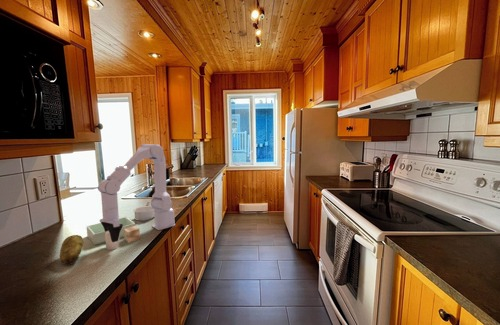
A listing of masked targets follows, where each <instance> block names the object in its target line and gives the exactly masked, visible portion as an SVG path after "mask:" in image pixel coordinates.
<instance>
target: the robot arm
mask: <svg viewBox="0 0 500 325" xmlns="http://www.w3.org/2000/svg"><path fill="white" fill-rule="evenodd" d="M147 159H149V160H151V161H152V162H153V165H154V166H153V168H154V172H153V173H154V193H153V194H152V196H151V202H150V206H152V207H153V208H154V214H155V216H154V224H152V225H151V227H152V228H154V229H156V230H157V231H161V230H164V229H168V228H171V227H175V226H176V223H175V222H176V220H175V217H176V216H175V211H174V209H173V208H172V205H173V201H172V199H171V195H170V194H169V193H168V192H167V170H166V169H167V164H166V163H167V162H166V156H165V153H164V148H163V147H162V146H161V145H160V144H157V143H153V144H149V143H142V144H141V145H140V146H139V147H138V148H137V150H136V151H135V152H134V154H133V155H132V156H131V157H130V158H129V160H127V161H126V162H125V164H124V165H120V166H118V167H115V168H114V171H113V172H112V173H111V174H110V175H108V176H107V177H106V179H103V180H100V182H99V184H98V186H97V189H98V192H100V196H101V198H100V199H101V210H102V218H101V219H99V223H101V224H102V225H103V227H104V230H105V232H106V231H109V233H110V236H111V240H112V242H116V241H118V239H119V240H120V238H119V234H120V231H121V229H122V227H123V225H122V224H119V218H120V215H119V202H118V200H119V199H118V198H119V197H118V192H119V191H120V189H121V185H122V184H123V183H124V182H125V181H126V180H127V179H128V178H129V177H130V176H131V171H132V170H133V169H134V168H135V167H136V166H137V165H138V164H140V163H141V161H143V160H147Z"/></svg>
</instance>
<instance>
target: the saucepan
mask: <svg viewBox="0 0 500 325" xmlns="http://www.w3.org/2000/svg"><path fill="white" fill-rule="evenodd" d="M133 213H134V220H137V221H141V222H142V221H143V222H144V221H149V220H151V219H153V218H155V214H154V208H153V207H152V206H151V205H150V202H149V201H148V202H147V203H146V205H145V206H139V207H136V208H134V209H133Z"/></svg>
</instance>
